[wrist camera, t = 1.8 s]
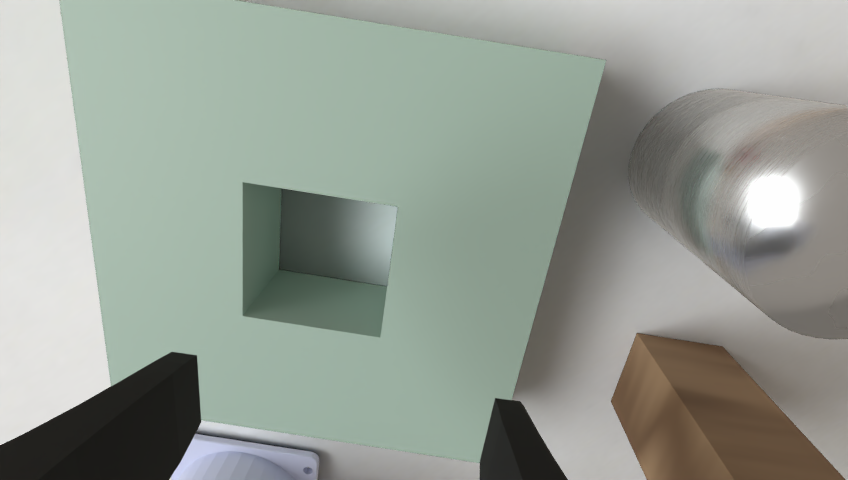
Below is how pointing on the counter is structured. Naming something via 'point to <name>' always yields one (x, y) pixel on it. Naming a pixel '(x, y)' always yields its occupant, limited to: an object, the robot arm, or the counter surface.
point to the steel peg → (756, 198)
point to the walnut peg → (707, 418)
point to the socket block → (333, 176)
